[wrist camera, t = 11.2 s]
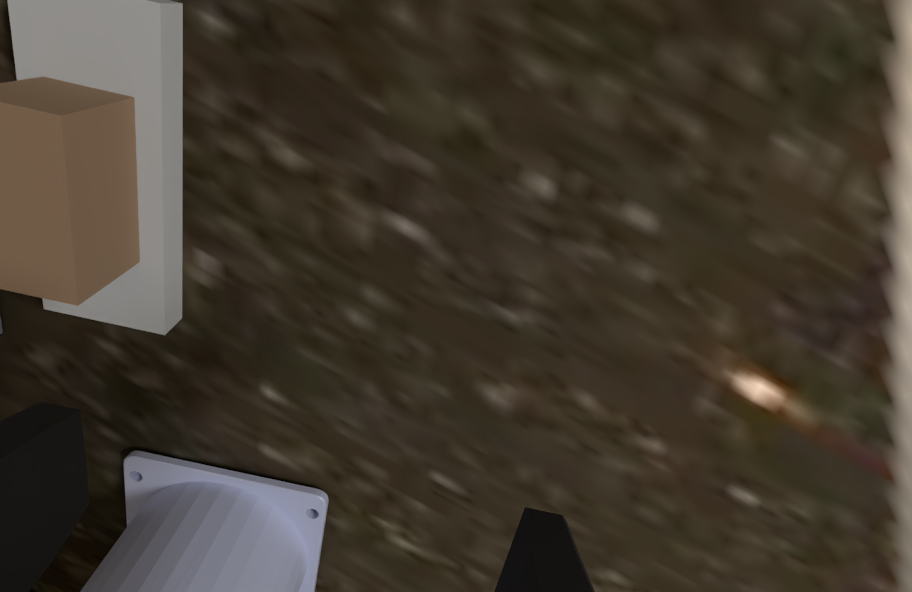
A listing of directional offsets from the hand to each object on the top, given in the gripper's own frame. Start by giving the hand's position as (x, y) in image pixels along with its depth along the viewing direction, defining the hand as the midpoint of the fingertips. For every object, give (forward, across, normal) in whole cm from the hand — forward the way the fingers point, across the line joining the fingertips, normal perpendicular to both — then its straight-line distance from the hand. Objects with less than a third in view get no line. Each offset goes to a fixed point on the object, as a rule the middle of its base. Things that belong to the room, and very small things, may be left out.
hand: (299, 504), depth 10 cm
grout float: (+11, +9, -1) cm, 14 cm away
